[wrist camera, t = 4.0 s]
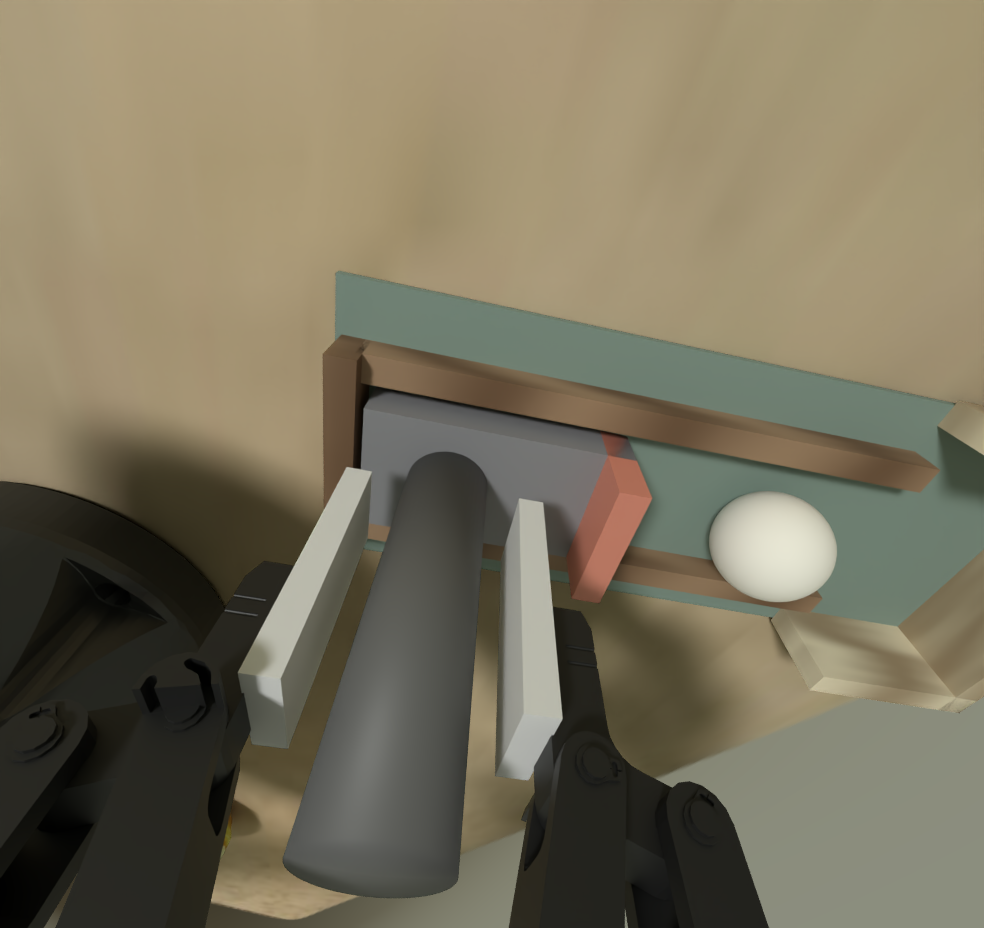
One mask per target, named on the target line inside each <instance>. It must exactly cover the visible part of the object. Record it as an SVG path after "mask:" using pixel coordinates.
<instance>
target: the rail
mask: <svg viewBox="0 0 984 928" xmlns="http://www.w3.org/2000/svg"><path fill="white" fill-rule="evenodd" d="M370 385H373V386H379V387H384V388H389V389H394V390H399V391H404V392H409V393H414V394H419V395H424V396H429V397H435V398H440V399H445V400H450V401H455V402H460V403H465V404H470V405H475V406H480V407H485V408H491V409H496V410H501V411H506V412H511V413H516V414H521V415H526V416H531V417H536V418H541V419H547V420H552V421H557V422H562V423H567V424H572V425H577V426H582V427H587V428H592V429H597V430H603V431H608V432H613V433H618V434H623V435H628V436H633V437H638V438H643V439H648V440H653V441H659V442H664V443H669V444H674V445H679V446H684V447H689V448H694V449H699V450H704V451H709V452H715V453H720V454H725V455H730V456H735V457H740V458H745V459H750V460H755V461H760V462H765V463H771V464H776V465H781V466H786V467H791V468H796V469H801V470H806V471H811V472H816V473H821V474H827V475H832V476H837V477H842V478H847V479H852V480H857V481H862V482H867V483H872V484H877V485H883V486H888V487H893V488H898V489H903V490H908V491H913V492H918V493H920V492H921V491H922V490H923V489H924V488H925V487H926V486H927V485H928V484H929V482H930V481H931V480H932V479H933V478H934V477H935V476H936V475H937V474H938V473H939V472H940V469H938V468H937V467H936V466H934V465H933V464H931V463H930V462H929V461H927V460H926V459H925V458H923V457H922V456H921V455H919V454H918V453H916V452H915V451H910V450H905V449H900V448H895V447H890V446H886V445H881V444H876V443H871V442H866V441H861V440H856V439H851V438H846V437H842V436H837V435H832V434H827V433H822V432H817V431H812V430H807V429H802V428H797V427H793V426H788V425H783V424H778V423H773V422H768V421H763V420H758V419H753V418H749V417H744V416H739V415H734V414H729V413H724V412H719V411H714V410H709V409H704V408H700V407H695V406H690V405H685V404H680V403H675V402H670V401H665V400H660V399H655V398H651V397H646V396H641V395H636V394H631V393H626V392H621V391H616V390H611V389H607V388H602V387H597V386H592V385H587V384H582V383H577V382H572V381H567V380H562V379H558V378H553V377H548V376H543V375H538V374H533V373H528V372H523V371H518V370H514V369H509V368H504V367H499V366H494V365H489V364H484V363H479V362H474V361H469V360H465V359H460V358H455V357H450V356H445V355H440V354H435V353H430V352H425V351H420V350H416V349H411V348H406V347H401V346H396V345H391V344H386V343H381V342H376V341H372V340H367V339H362V338H357V337H352V336H347V335H342V334H341V335H340V336H339V337H338V339H337V340H336V341H335V342H334V343H333V344H332V345H331V346H330V347H329V348H328V349H327V350H326V351H325V352H324V353H323V451H324V509H325V507H326V505H327V503H328V501H329V499H330V498H331V496H332V494H333V492H334V490H335V488H336V486H337V484H338V483H339V481H340V479H341V477H342V475H343V473H344V471H345V469H346V467H350V468H355V469H361V455H362V434H363V413H364V407H365V405H366V404H367V402H368V400H369V386H370ZM390 528H391V527H387V526H381V525H376V524H370V523H369V528H368V538H367V539H373V540H379V541H385V542H386V540H387V537H388V534H389V531H390ZM504 548H505V547H503V546H498V545H492V544H486V543H483V552H482V558H485V559H491V560H497V561H501V558H502V554H503V551H504ZM548 562H549V569H550V570H556V571H562V572H568V567H567V560H566V557H561V556H556V555H550V554H548ZM611 580H615V581H621V582H627V583H633V584H639V585H645V586H651V587H656V588H662V589H668V590H674V591H680V592H686V593H692V594H698V595H704V596H710V597H715V598H721V599H727V600H733V601H739V602H745V603H751V604H757V605H763V606H769V607H774V608H780V609H786V610H792V611H798V612H804V613H810V612H811V611H812V610H813V609H814V608H815V606H816V605H817V604H818V603H819V602H820V601H821V600H822V599H823V598H822V597H821V595H820V594H819V593H818V591H815V592H814V593H812V594H810V595H808V596H806V597H804V598H801V599H798V600H794V601H789V602H769V601H763V600H759V599H756V598H753V597H750V596H748V595H746V594H744V593H742V592H740V591H739V590H737V589H736V588H734V587H733V586H732V585H730V584H729V583H728V582H727V581H726V580H725V579H724V578H723V577H722V575H721V574H720V573H719V571H718V570H717V568H716V566H715V564H714V562H713V560H708V559H702V558H697V557H691V556H685V555H680V554H674V553H668V552H663V551H657V550H651V549H646V548H640V547H634V546H628V548H627V550H626V551H625V553H624V555H623V557H622V559H621V561H620V563H619V565H618V567H617V569H616V571H615V573H614V575H613V577H612V579H611Z"/></svg>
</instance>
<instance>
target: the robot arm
mask: <svg viewBox="0 0 984 928" xmlns="http://www.w3.org/2000/svg"><path fill="white" fill-rule="evenodd" d="M371 482H372V471H366V470H361V469H355V468H350V467H346V469H345V471H344V473H343V475H342V477H341V479H340V481H339V483H338V484H337V486H336V488H335V490H334V492H333V494H332V496H331V498H330V499H329V501H328V503H327V505H326V507H325V509H324V511H323V513H322V515H321V516H320V518H319V520H318V522H317V524H316V526H315V528H314V530H313V532H312V533H311V535H310V537H309V539H308V541H307V543H306V545H305V547H304V549H303V550H302V552H301V554H300V556H299V558H298V560H297V562H296V564H295V566H292V565H285V564H279V563H273V562H267V561H264V562H263V563H261V564H260V565H259V566H257V567H256V568H255V569H254V570H252V571H251V572H250V573H248V574H247V575H246V576H245V578H244V579H243V581H242V582H241V584H240V586H239V587H238V589H237V590H236V592H235V593H234V597H232V598H231V600H230V601H229V603H228V605H227V606H226V608H225V610H224V608H223V605H222V603H221V601H220V600H219V598H218V596H217V595H216V593H215V592H214V590H213V589H212V587H211V586H210V585H209V584H208V582H207V581H206V580H205V579H204V578H203V577H202V575H201V574H200V573H199V572H198V571H197V570H196V569H195V568H194V567H193V566H192V565H191V564H190V563H189V562H187V561H186V560H185V559H184V558H183V557H182V556H181V555H179V554H178V553H177V552H176V551H174V550H173V549H172V548H171V547H169V546H168V545H166V544H165V543H164V542H162V541H161V540H159V539H158V538H156V537H155V536H153V535H152V534H150V533H149V532H147V531H145V530H144V529H142V528H140V527H139V526H137V525H135V524H133V523H131V522H130V521H128V520H126V519H124V518H122V517H120V516H118V515H116V514H114V513H112V512H110V511H107V510H105V509H103V508H100V507H98V506H96V505H93V504H91V503H88V502H85V501H83V500H80V499H77V498H74V497H71V496H68V495H65V494H62V493H58V492H55V491H52V490H47V489H43V488H39V487H35V486H29V485H24V484H18V483H11V482H1V481H0V928H44V926H45V925H46V923H47V922H48V920H49V918H50V917H51V915H52V913H53V912H54V910H55V908H56V907H57V905H58V904H59V902H60V900H61V899H62V897H63V896H64V894H65V892H66V891H67V889H68V887H69V886H70V884H71V882H72V881H73V879H74V877H75V876H76V874H77V873H78V874H77V876H76V879H75V882H74V884H73V886H72V888H71V891H70V894H69V896H68V898H67V901H66V903H65V906H64V908H63V911H62V913H61V916H60V918H59V921H58V923H57V925H56V928H205V925H206V920H207V916H208V911H209V907H210V902H211V898H212V893H213V889H214V884H215V880H216V875H217V871H218V866H219V862H220V857H221V853H222V848H223V844H224V839H225V835H226V830H227V826H228V821H229V817H230V812H231V807H232V803H233V798H234V794H235V789H236V785H237V780H238V776H239V771H240V753H241V751H242V749H243V747H244V745H245V742H246V740H247V738H248V736H249V733H250V738H251V743H252V744H253V745H261V746H268V747H276V748H284V749H288V748H289V745H290V742H291V740H292V737H293V735H294V732H295V729H296V727H297V724H298V721H299V719H300V716H301V713H302V711H303V708H304V705H305V703H306V700H307V697H308V695H309V692H310V689H311V687H312V684H313V681H314V679H315V676H316V674H317V671H318V668H319V666H320V663H321V660H322V658H323V655H324V652H325V650H326V647H327V644H328V642H329V639H330V636H331V634H332V631H333V628H334V626H335V623H336V620H337V618H338V615H339V613H340V610H341V607H342V605H343V602H344V599H345V597H346V594H347V591H348V589H349V586H350V583H351V581H352V578H353V575H354V573H355V570H356V567H357V565H358V562H359V559H360V557H361V554H362V552H363V549H364V546H365V544H366V541H367V538H368V528H369V513H370V497H371ZM533 771H534V787H535V793H534V795H533V797H532V798H531V800H530V802H529V803H528V805H527V807H526V808H525V811H524V813H523V816H522V819H521V820H523V821H525V822H526V821H527V824H526V829H525V835H524V841H523V847H522V853H521V859H520V865H519V870H518V877H517V883H516V888H515V894H514V900H513V906H512V912H511V918H510V924H509V928H625V910H626V917H627V923H628V928H769V927H768V924H767V921H766V918H765V915H764V912H763V909H762V906H761V903H760V900H759V898H758V895H757V891H756V889H755V886H754V883H753V880H752V877H751V874H750V871H749V868H748V865H747V862H746V859H745V856H744V853H743V850H742V847H741V844H740V841H739V838H738V836H737V833H736V830H735V827H734V824H733V822H732V820H731V818H730V816H729V814H728V812H727V810H726V808H725V807H724V806H723V805H722V803H721V802H720V801H719V800H718V798H717V797H716V796H715V795H714V794H713V793H711V792H710V791H708V790H707V789H706V788H704V787H703V786H701V785H698V784H695V783H692V782H690V781H689V782H681V783H678V784H676V786H674V787H673V788H672V787H670V786H668V785H666V784H664V783H662V782H660V781H658V780H656V779H654V778H652V777H650V776H648V775H646V774H644V773H642V772H641V771H639V770H637V769H636V768H634V767H633V766H631V765H630V764H629V763H628V762H627V761H626V760H625V759H624V758H623V757H622V756H621V754H620V753H619V752H618V750H617V749H616V748H615V746H614V744H613V742H612V740H611V738H610V734H609V731H608V727H607V721H606V715H605V709H604V703H603V697H602V691H601V685H600V679H599V673H598V669H597V661H596V655H595V653H594V643H593V637H592V631H591V628H590V627H589V625H588V623H587V621H586V620H585V618H584V616H583V614H582V613H581V611H575V610H569V609H563V608H557V607H552V596H551V585H550V573H549V562H548V551H547V540H546V529H545V518H544V507H543V502H537V501H532V500H526V499H521V498H519V501H518V504H517V507H516V511H515V514H514V517H513V521H512V524H511V527H510V531H509V534H508V537H507V541H506V544H505V548H504V551H503V554H502V558H501V573H500V609H499V646H498V682H497V719H496V756H495V776H498V777H505V778H513V779H521V780H529V778H530V776H531V775H532V773H533Z"/></svg>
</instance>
